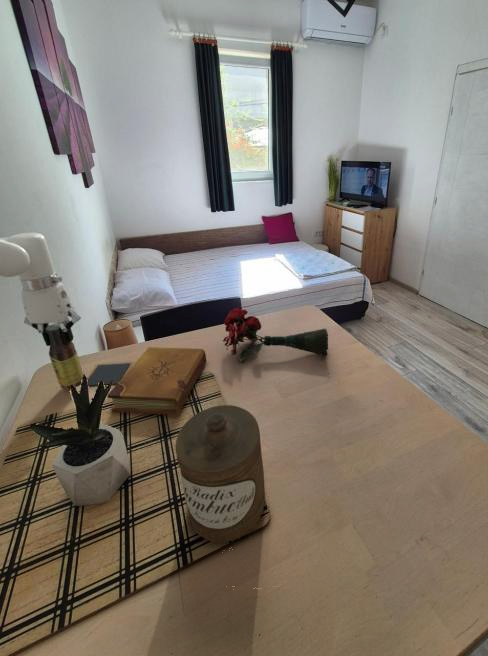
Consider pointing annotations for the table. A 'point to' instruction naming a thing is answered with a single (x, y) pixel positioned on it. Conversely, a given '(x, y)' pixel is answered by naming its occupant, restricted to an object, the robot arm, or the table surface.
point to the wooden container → (222, 472)
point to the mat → (107, 374)
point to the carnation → (250, 325)
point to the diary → (158, 381)
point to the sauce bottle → (64, 358)
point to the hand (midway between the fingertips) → (60, 342)
